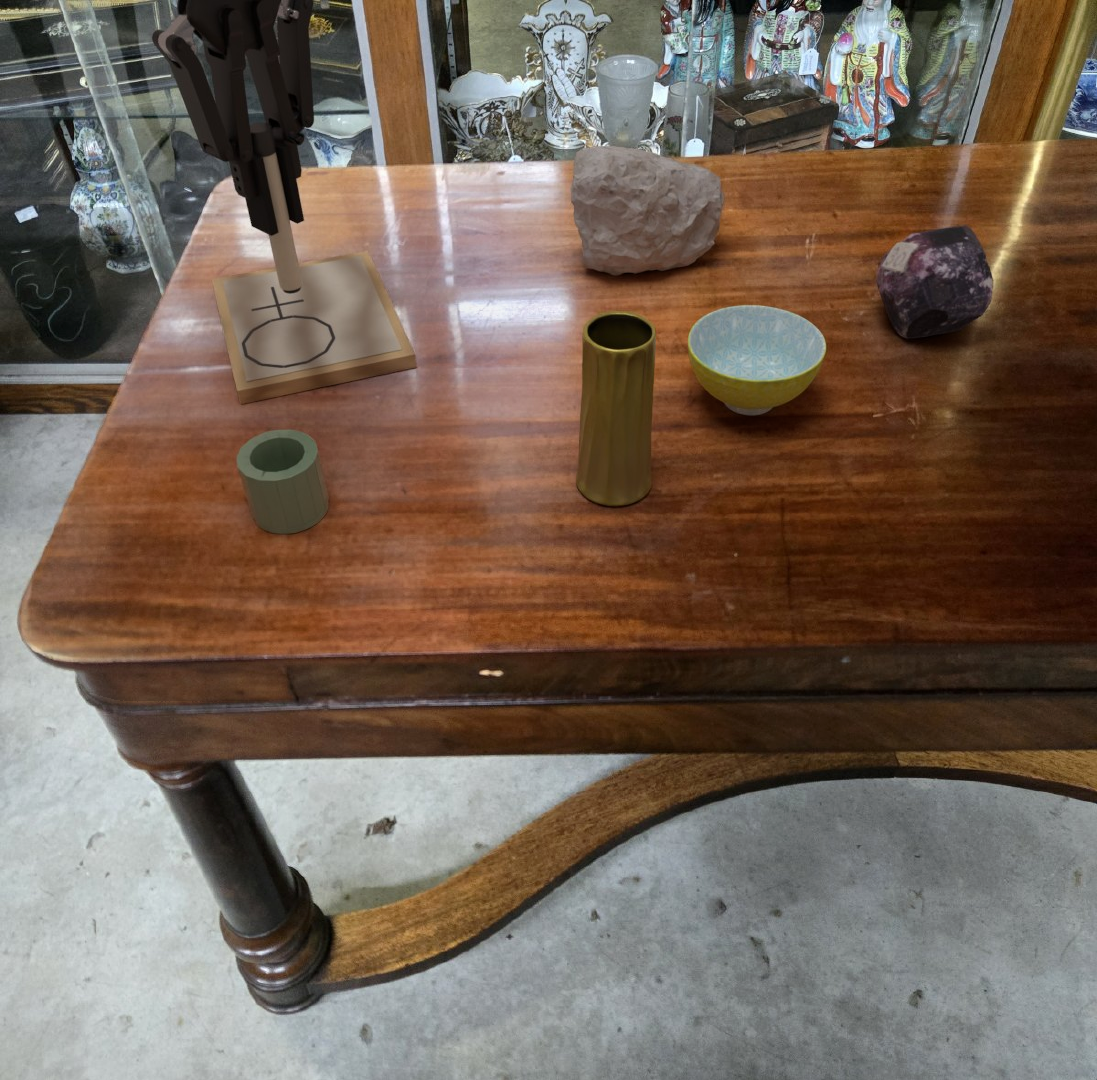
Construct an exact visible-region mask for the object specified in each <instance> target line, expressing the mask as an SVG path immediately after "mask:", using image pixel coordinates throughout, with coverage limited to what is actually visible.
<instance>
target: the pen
mask: <svg viewBox="0 0 1097 1080" xmlns="http://www.w3.org/2000/svg"><path fill="white" fill-rule="evenodd" d="M249 124H250V123H249ZM250 132H251V140H252V148H253V154H256V155H258V156H260V157H262V158H263V160H264V165H265V170H266V175H267V179H268V184H269V189H270V194H271V199H272V203H273V208H274V213H275V218H276V222H277V227H278V232H279V233H277V234H275V235H273V236H270V235H268V239H269V243H270V247H271V252H272V257H273V261H274V266H275V267H274V268H276V271H277V276H278V281H279V285H280V288H281V289H283V291H284V292H285V293H289V294H292V293H296V292H298V291H300V289H301V286H302V279H301V274H300V269H299V264H298V263H299V260H298V255H297V250H296V244H295V240H294V234H293V230H292V225H291V221H290V219H289V214H288V209H287V204H286V199H285V194H284V189H283V184H282V179H281V174H280V169H279V164H278V159H277V154H276V146H275V141H274V136H273V131H272V127H271V125H270V124H268V123H266V122H255V123H251V124H250Z"/></svg>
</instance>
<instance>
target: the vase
mask: <svg viewBox="0 0 1097 1080" xmlns="http://www.w3.org/2000/svg"><path fill="white" fill-rule="evenodd" d="M581 337H582V343H581V344H582V346H581V347H582V356H581V357H582V358H581V359H582V360H581V361H582V362H581V363H582V364H581V399H580V410H579V411H580V413H579V431H578V460H577V461H578V462H577V463H578V464H577V465H578V466H577V471H576V476H575V484H576V486H577V488H578V490H579V491H580V493H581V494H582V495H583V496H584V497H585V498H587V499H588V500H589V501H591V502H593V503H595V504H598V505H602V506H606V507H607V506H608V507H623V506H624V507H625V506H629V505H632V504H634V503H637V502H639V501H641V499H643V498H645V496H647V494H648V493H649V492H650V490H651V489H652V485H653V476H652V425H653V407H654V406H653V404H654V386H655V385H654V383H655V367H656V366H655V365H656V340H657V329H656V327H655V325H654V323H653V322H652V321H651V320H649V319H648V318H646V317H645V316H643V315H641V314H639V313H636V312H633V311H626V310H609V311H604V312H602V313H598V314H596V315H594V316H592V317H591V318H590V319H588V320H587V321H586V323H585V324H584V326H583V329H582V336H581Z"/></svg>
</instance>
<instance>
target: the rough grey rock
mask: <svg viewBox="0 0 1097 1080" xmlns="http://www.w3.org/2000/svg"><path fill="white" fill-rule="evenodd" d="M721 183H722V180H721V177H720V176H719V175H717V174H716V173H714V172H713V171H711V170H710V169H709V168H708V167H703V166H701V165H698V164H694V163H690V162H685V161H679V160H677V159H675V158H670V157H666V156H665V155H661V154H659V153H656V152H652V151H648V150H644V149H640V148H635V147H629V148H627V147H625V146H616V145H605V146H604V145H593V146H590V147H589V146H587V147H586V146H585V147H582V148H581V149H580V150H578V151H577V152H575V154H574V161H573V165H572V182H571V186H570V203H571V204H572V206H573V221H574V224H575V227H576V228H577V231H578V235H579V237H580V240H581V245H582V251H583V252H582V259H581V264H582V265H583V266H584V267H585V268H586V269H590V270H594V271H597V272H599V273H600V272H603V273H607V274H609V275H611V276H621V275H622V274H626V273H630V274H638V273H644V272H646V271H655V270H657V271H660V272H664V271H669V270H671V269H677V268H683V267H687V266H689V265H691V264H693V263H695V262H696V261H697V259H699V258H700V257H702V256H703V255H704V254H705V253H707V252H708V251H710V249H712V247H713V246H714V245H715V239H716V237H717V234H718V232H719V231H720V224H721V223H720V220H721V216H722V212H723V206H724V204H725V193H724V191H723V189H722V185H721Z"/></svg>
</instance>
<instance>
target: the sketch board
mask: <svg viewBox="0 0 1097 1080" xmlns="http://www.w3.org/2000/svg"><path fill="white" fill-rule="evenodd" d="M298 264H299V269H300V274H301V279H302V286H301V289H300V291H298V292H296V293H292V294H289V293H285V292H284V291H283V289H281V288H280V285H279V281H278V276H277V271H276V267H272V268H271V267H270V268H266V269H261V270H256V271H249V272H244V273H238V274H233V275H228V276H222V277H216V278H211V282H212V288H213V292H214V297H215V301H216V304H217V305H216V306H217V309H218V313H219V314H218V315H219V319H220V323H221V328H222V331H223V334H224V341H225V345H226V350H227V352H228V357H229V362H230V367H231V371H232V377H233V380H234V384H235V389H236V394H237V397H238V400H239V404H240V405H244V404H251V403H254V402H258V401H259V402H260V401H263V400H269V399H272V398H277V397H282V396H288V395H293V394H297V393H301V392H306V391H311V390H316V389H320V388H321V389H322V388H324V387H330V386H335V385H339V384H344V383H348V382H354V381H358V380H362V379H367V378H372V377H378V376H382V375H387V374H391V373H396V372H402V371H406V370H411V369H415V368H417V367H418V366H417V365H418V364H417V357H416V353H415V350H414V348H413V346H412V344H411V342H410V339H409V337H408V335H407V333H406V331H405V329H404V326H403V324H402V322H401V320H400V317H399V315H398V313H397V311H396V309H395V306H394V305H393V301H392V300H391V298H390V295H389V294H388V291H387V289H386V286H385V284H384V282H383V279H382V278H381V275H380V273H379V271H378V269H377V267H376V265H375V262H374V260H373V257H372V255H371V253H370V251H369V250H364V251H358V252H354V253H347V254H341V255H336V256H332V257H331V256H330V257H326V258H320V259H315V260H310V261H304V262H298Z"/></svg>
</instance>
